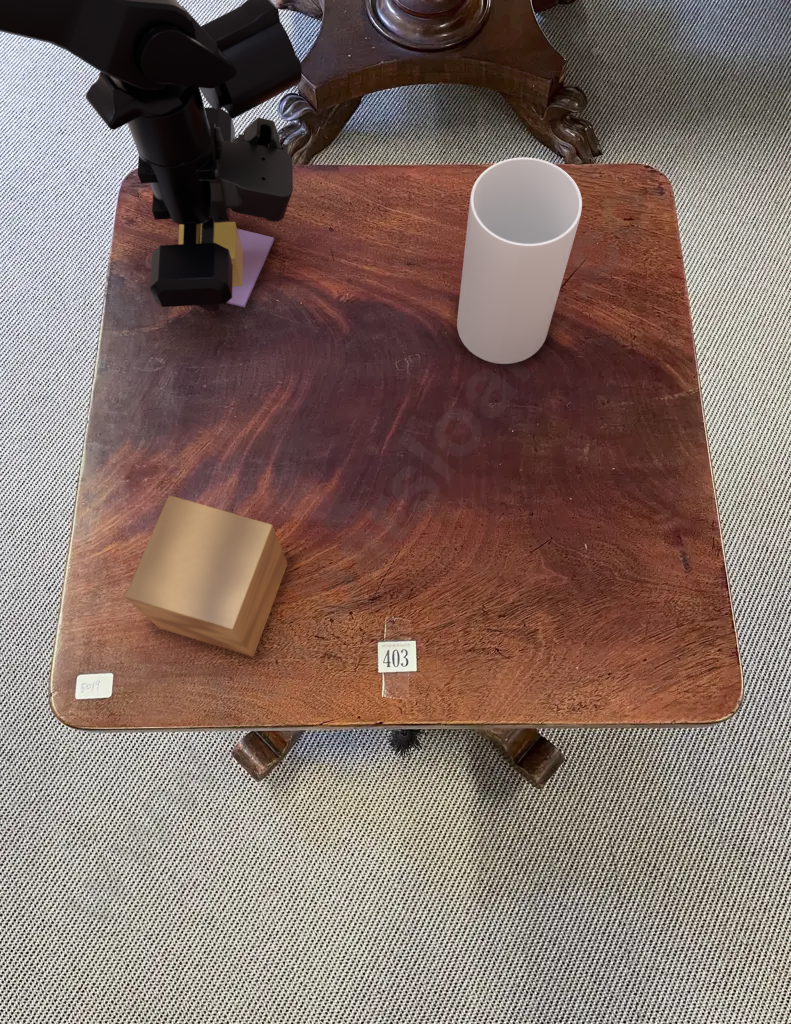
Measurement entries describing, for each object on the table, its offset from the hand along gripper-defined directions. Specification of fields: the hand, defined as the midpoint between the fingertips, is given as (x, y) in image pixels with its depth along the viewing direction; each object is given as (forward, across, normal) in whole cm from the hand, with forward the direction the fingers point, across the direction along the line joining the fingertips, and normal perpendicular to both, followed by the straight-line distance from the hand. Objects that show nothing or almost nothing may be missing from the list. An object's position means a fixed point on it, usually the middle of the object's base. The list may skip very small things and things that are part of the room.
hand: (214, 267), depth 79 cm
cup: (+1, -7, -26) cm, 27 cm away
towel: (+1, +1, 0) cm, 1 cm away
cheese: (0, 0, 0) cm, 0 cm away
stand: (0, -31, -1) cm, 31 cm away
